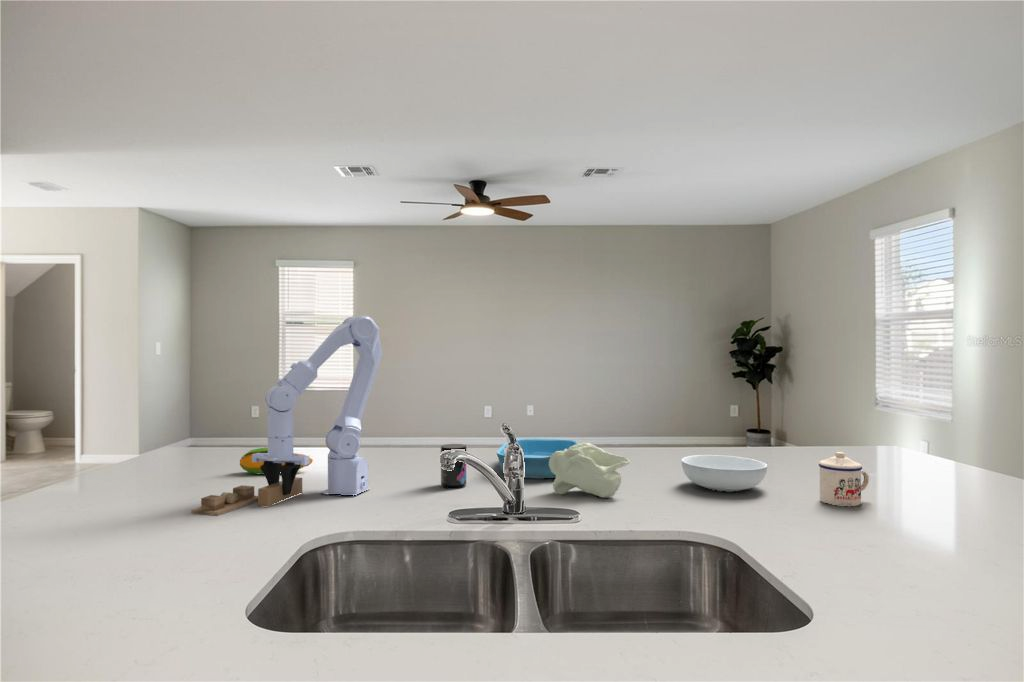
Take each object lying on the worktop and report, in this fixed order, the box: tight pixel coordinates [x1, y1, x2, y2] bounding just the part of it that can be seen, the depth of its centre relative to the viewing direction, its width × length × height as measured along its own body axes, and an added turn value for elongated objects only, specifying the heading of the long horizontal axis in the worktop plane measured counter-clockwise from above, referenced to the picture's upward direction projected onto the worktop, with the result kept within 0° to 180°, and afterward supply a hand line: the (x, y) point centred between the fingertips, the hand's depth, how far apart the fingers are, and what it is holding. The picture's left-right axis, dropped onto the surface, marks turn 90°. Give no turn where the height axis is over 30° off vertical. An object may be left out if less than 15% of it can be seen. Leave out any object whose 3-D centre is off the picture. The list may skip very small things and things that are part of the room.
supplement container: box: [440, 443, 468, 490], centre depth 168 cm, size 7×7×10 cm
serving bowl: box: [680, 454, 768, 493], centre depth 166 cm, size 21×21×7 cm
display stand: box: [191, 485, 258, 516], centre depth 148 cm, size 7×15×3 cm, turn 163°
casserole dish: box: [496, 437, 579, 479], centre depth 190 cm, size 37×22×7 cm, turn 171°
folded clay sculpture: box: [549, 442, 631, 499], centre depth 160 cm, size 18×13×16 cm
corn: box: [239, 447, 314, 474], centre depth 184 cm, size 7×8×20 cm
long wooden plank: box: [257, 477, 303, 507], centre depth 154 cm, size 3×13×4 cm, turn 163°
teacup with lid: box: [818, 451, 870, 508], centre depth 152 cm, size 12×9×12 cm
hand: (280, 493), depth 154 cm, fingers closed on long wooden plank, 3 cm apart
